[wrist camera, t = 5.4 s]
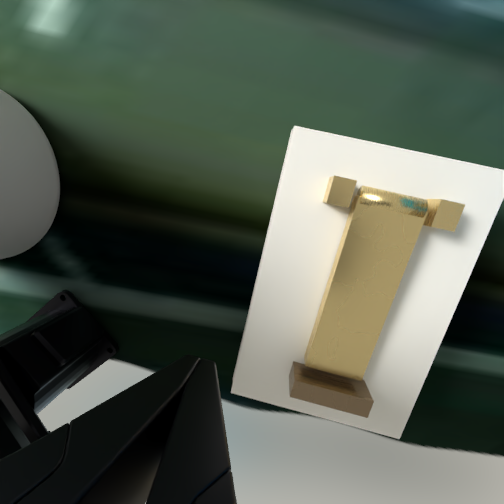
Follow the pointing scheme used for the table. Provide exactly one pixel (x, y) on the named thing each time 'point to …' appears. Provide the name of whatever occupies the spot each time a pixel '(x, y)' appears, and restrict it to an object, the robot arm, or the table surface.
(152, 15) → the table surface
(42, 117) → the table surface
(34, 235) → the cylinder vase
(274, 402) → the box
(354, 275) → the brass clasp lever
